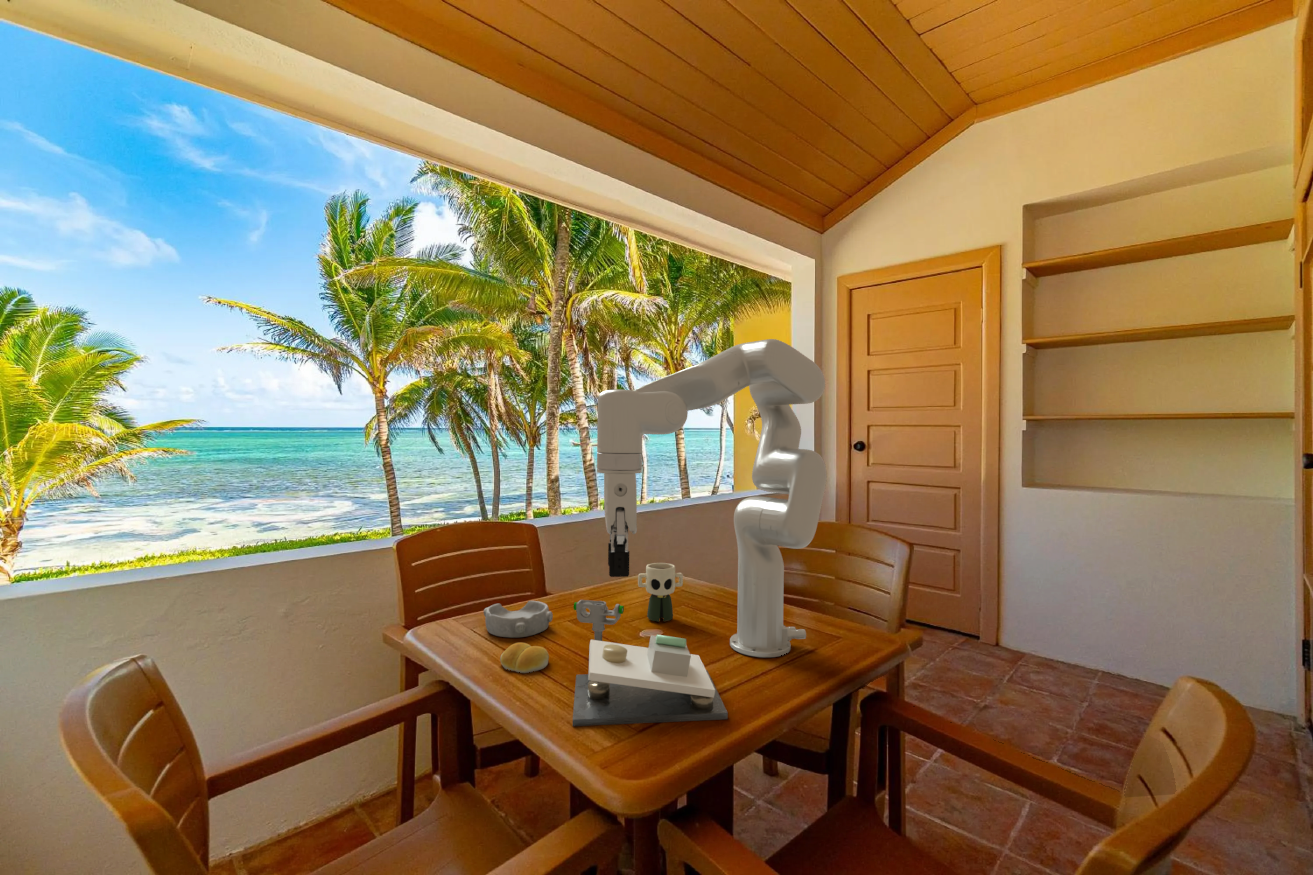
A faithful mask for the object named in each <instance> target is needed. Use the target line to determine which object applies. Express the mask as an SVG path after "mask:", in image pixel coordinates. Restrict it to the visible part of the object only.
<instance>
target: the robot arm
mask: <svg viewBox="0 0 1313 875" xmlns="http://www.w3.org/2000/svg"><path fill="white" fill-rule="evenodd" d="M747 387H748V388H749V393H750V396H751V398H752V400H753V401H754V404H755V406H756V408H757V410H758V412H759V415H760V419H761V431H760V435H759V436H760V437H759V441H758V444H757V450H756V454H755V458H754V461H753V466H752V471H751V472H752V473H751V479H752V484H753V485H754V486H755V487H756V488H757V489H758V490H761V491H764V492H768V493H773V494H774V493H775V494H783V495H788V499H784V498H777V497H769V496H756V495H755V496H750V497H746V498H743V499H742V500H741V501H739V503H738V504H737V506H736V507H735V509H734V513H733V527H734V531H735V538H736V544H737V546H736V547H737V618H736V619H737V621H736V623H737V629H736V630H737V632H736V633H734V634H733V635H731V637H730V638H729V646H730V648H731V649H733V651H736V652H737V653H739V654H742V655H745V656H749V657H755V658H776V657H781V655H782V656H785V655H787V654H788V653H789V652H791V649H792V648H791V642H790V641H792V640H793V639H796V640H804V639H807V632H806V629H803V628H799V629H797V628H796V626H786V625H784V587H785V586H784V585H785V584H784V583H785V582H784V579H785V578H784V576H785V575H784V574H785V566H784V565H785V564H784V560H783V556H782V552H781V550H780V548H779V547H783V548H788V549H795V550H796V549H797V550H798V549H803V548H806V547H808V545H809V544H810V543H811V542H812V541H813V539H814V538H815V534H816V531H817V528H818V524H819V521H820V520H819V519H820V515H821V511H822V505H823V499H824V497H825V496H824V495H825V492H826V484H827V480H828V479H827V477H828V476H827V466H826V463H825V461H824V459H823V457H822V456H821V454H820V453H818V452H817V451H814V450H810V449H804V448H800V442H801V436H802V428H801V427H802V426H801V423H800V421H799V419H798V417H797V415H796V413H795V412H794V411H793V408H792V407H791V405H807V404H808V405H809V404H813V403H814V402H817V401H818V400H819V399H820V398H821V397H822V395H823V394H824V391H825V388H826V379H825V375H824V373H823V371H822V369H821V368H820V367H819V365H818V364H817V363H816V362H814V361H813V360H812V359H810V358H809V357H808V356H806V355H804V354H803V353H802V352H800V351H799V350H797V349H796V348H794V347H793V346H791V345H790V344H788V343H786V342H784V341H782V340H779V339H777V338H768V339H761V340H756V341H749V342H743V343H738V344H736V345H734V346H731V347H729V348H727V349H726V350H723V351H721V352H719V353H718V354H716V355H713V356H712V357H710V358H707V359H705V360H704V361H701V362H699V363H697V364H695V365H691V366H690V367H686V368H685V369H682V370H679V371H676V372H675V373H672V374H668V375H666V376H663V377H661V378H659V379H656V380H654V381H651V382H649V383H646V384H644V385H642V386H640V387H638V388H635V389H634V390H632V389H607V390H603V391H601V392H600V393H599V395H598V398H597V429H596V430H597V432H596V433H597V435H596V436H597V437H596V438H597V439H596V440H597V442H596V443H597V444H596V445H597V448H596V449H597V450H596V452H597V453H596V454H597V455H596V473H597V474H598V473H599V474H603V505H604V506H603V507H604V522H605V527H606V532H607V533H608V534H609V542H608V547H607V548H608V549H607V552H608V553H607V558H608V559H607V565H608V567H609V568H608V569H609V570H608V575H609V577H610V578H620V577H621V578H624V577H629V576H630V551H629V532H631V534H632V535H635V534H636V533H637V531H638V522H637V520H638V519H637V518H638V517H637V516H638V514H637V512H638V511H637V510H638V509H637V508H638V506H637V504H638V503H637V502H638V500H637V495H638V494H637V476H636V474H642V472H643V470H642V469H643V435H670V434H673V433H675V432H677V431H679V430H680V429H682V427H683V426H684V425H685V424H686V422H687V420H688V416H689V415H688V414H689V413H688V412H689V411H695V410H701V409H705V408H709V407H713V406H715V405H718V404H720V403H722V402H723V401H725V400H726V399H728V398H730V397H731V396H733V395H735V394H736V393H738V392H740V391H742V390H744V389H745V388H747ZM786 653H787V654H786ZM784 654H785V655H784Z"/></svg>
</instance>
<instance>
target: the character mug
mask: <svg viewBox="0 0 1313 875" xmlns="http://www.w3.org/2000/svg"><path fill="white" fill-rule="evenodd" d="M643 578H645V582H643ZM676 578H678V582H676ZM637 584H638V585H637V586H638V588H645V591H646V592H647V593H649V594H650V596H649V601H648V606H647V607H648V608H647V615H646V616H647V618H648V620H650V621H653V622H660V621H661V619H663V622H668V621H669V622H670V621H671V620H672V619H673V618H674V612H673V611H674V610H673V601H672V597H671V594H674V592H675V590H676V588H677V587H683V584H684V575H683V573H682V572H676V565H674V564H673V563H666V562H653V563H648V564H646V566H645V573H644V572H643V573H638V576H637Z"/></svg>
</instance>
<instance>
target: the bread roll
mask: <svg viewBox="0 0 1313 875" xmlns="http://www.w3.org/2000/svg"><path fill="white" fill-rule="evenodd" d="M549 658H550V656H549V652H548V650H547V649H546V648H545V647H543V646H539V645H533V646H531V644H528V643H526V642H515V643H513V644H511V645H509V646H508V647H507V648H506V649H505V650H504V651H503V652H502V653H501V655H500V658H499V661H500V664H501V666H502V667H503V668H504V669H505V670H507V669H508V670H507V671H510V670H511V671H510V672H516V673H519V672H520V674H527V673H528V674H529V672H530V673H534V672H537V671H540V670H543V669H544V668H546V667H547V666H548V664H549ZM533 671H534V672H533Z"/></svg>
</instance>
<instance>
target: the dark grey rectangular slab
mask: <svg viewBox="0 0 1313 875" xmlns="http://www.w3.org/2000/svg"><path fill="white" fill-rule="evenodd" d="M706 672H707V674H708V676H709V678H710V680H711V682H712V684H713V686H714V688H715V694H714V697H706V696H699V695H692V694H685V693H678V692H670V691H663V690H656V689H649V688H642V687H634V686H627V685H620V684H613V683H605V682H598V681H591V680H588V678H589V673H587V674H585V673H584V674H576V676H575V686H574V687H575V688H574V697H573V700H574V701H573V708H572V709H573V711H572V727H583V726H584V727H586V726H608V725H629V724H631V725H632V724H633V725H634V724H651V723H652V724H653V723H670V722H671V723H673V722H674V723H676V722H694V721H695V722H699V721H716V720H718V721H719V720H728V716H729V714H728V710H727V709H726V707H725V704H724V702H723V700H722V698H721V696H720V694H719V692H718V690H717V687H716V686H715V684H714V681H713V679H712V677H711V675H710V674H709V670H708V669H706Z"/></svg>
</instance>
